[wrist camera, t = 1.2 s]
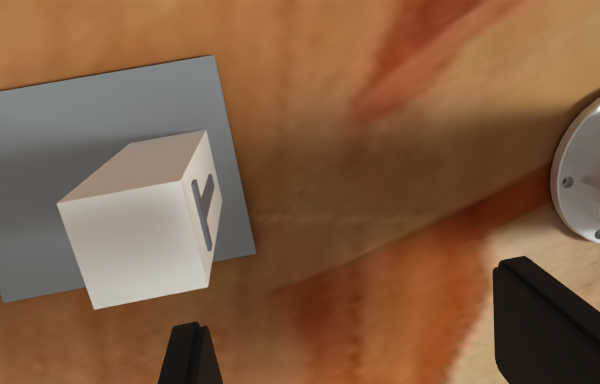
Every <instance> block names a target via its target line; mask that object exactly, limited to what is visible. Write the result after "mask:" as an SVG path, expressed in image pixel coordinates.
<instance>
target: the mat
mask: <svg viewBox="0 0 600 384" xmlns="http://www.w3.org/2000/svg"><path fill="white" fill-rule="evenodd" d="M200 130H206V131H207V135H208V140H209V144H210V148H211V153H212V157H213V161H214V166H215V170H216V174H217V179H218V183H219V187H220V192H221V196H222V206H221V212H220V218H219V224H218V230H217V236H216V242H215V248H214V254H213V260H212V262H217V261H222V260H227V259H233V258H238V257H243V256H248V255H253V254H256V248H255V243H254V238H253V234H252V229H251V224H250V220H249V215H248V210H247V206H246V201H245V196H244V191H243V187H242V182H241V177H240V173H239V168H238V163H237V159H236V154H235V149H234V145H233V140H232V135H231V131H230V126H229V121H228V116H227V112H226V107H225V102H224V98H223V93H222V88H221V84H220V79H219V74H218V70H217V65H216V60H215V55H210V56H204V57H199V58H193V59H187V60H181V61H175V62H169V63H164V64H158V65H152V66H146V67H140V68H134V69H129V70H123V71H117V72H111V73H105V74H99V75H94V76H88V77H82V78H76V79H70V80H64V81H58V82H53V83H47V84H41V85H35V86H29V87H23V88H18V89H12V90H6V91H0V295H1V297H2V299H3V302H4V303H8V302H13V301H18V300H23V299H28V298H33V297H38V296H44V295H49V294H54V293H59V292H64V291H69V290H74V289H79V288H84V287H86V285H85V282H84V280H83V277H82V274H81V271H80V268H79V266H78V263H77V260H76V257H75V254H74V251H73V249H72V246H71V243H70V240H69V237H68V235H67V232H66V229H65V226H64V223H63V221H62V218H61V215H60V212H59V209H58V207H57V204H56V203H58V202H59V201H60V200H61V199H62V198H64V197H65V196H66V195H67V194H69V193H70V192H71V191H72V190H73V189H75V188H76V187H77V186H78V185H80V184H81V183H82V182H83V181H84V180H86V179H87V178H88V177H89V176H90V175H92V174H93V173H94V172H95V171H97V170H98V169H99V168H100V167H101V166H103V165H104V164H105V163H106V162H108V161H109V160H110V159H111V158H112V157H114V156H115V155H116V154H117V153H119V152H120V151H121V150H122V149H123V148H125V147H126V146H127V145H128V144H130V143H133V142H139V141H145V140H150V139H156V138H161V137H167V136H172V135H178V134H183V133H189V132H195V131H200Z"/></svg>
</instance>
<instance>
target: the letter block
mask: <svg viewBox="0 0 600 384" xmlns="http://www.w3.org/2000/svg"><path fill="white" fill-rule="evenodd" d="M56 204H57V207H58V209H59V212H60V215H61V218H62V221H63V223H64V226H65V229H66V232H67V235H68V237H69V240H70V243H71V246H72V249H73V251H74V254H75V257H76V260H77V263H78V266H79V268H80V271H81V274H82V277H83V280H84V282H85V285H86V288H87V291H88V294H89V296H90V299H91V302H92V305H93V308H94V310H95V309H100V308H106V307H111V306H116V305H121V304H126V303H131V302H136V301H141V300H146V299H151V298H156V297H161V296H166V295H171V294H176V293H181V292H186V291H191V290H196V289H201V288H206V287H208V284H209V278H210V272H211V266H212V260H213V254H214V248H215V242H216V236H217V230H218V224H219V218H220V212H221V206H222V196H221V192H220V187H219V183H218V179H217V174H216V170H215V166H214V161H213V157H212V153H211V148H210V144H209V140H208V135H207V131H206V130H200V131H195V132H189V133H183V134H178V135H172V136H167V137H161V138H156V139H150V140H145V141H139V142H133V143H130V144H128V145H127V146H126V147H125V148H123V149H122V150H121V151H120V152H119V153H117V154H116V155H115V156H114V157H112V158H111V159H110V160H109V161H108V162H106V163H105V164H104V165H103V166H101V167H100V168H99V169H98V170H97V171H95V172H94V173H93V174H92V175H90V176H89V177H88V178H87V179H86V180H84V181H83V182H82V183H81V184H80V185H78V186H77V187H76V188H75V189H73V190H72V191H71V192H70V193H69V194H67V195H66V196H65V197H64V198H62V199H61V200H60V201H59V202H58V203H56Z"/></svg>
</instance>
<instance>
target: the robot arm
mask: <svg viewBox="0 0 600 384" xmlns="http://www.w3.org/2000/svg"><path fill="white" fill-rule="evenodd" d="M550 188H551V196H552V201H553V203H554V206H555V209H556V212H557V213H558V215H559V216H560V218H561V219H562V221H563V222H564V223H565V224H566V225H567V226H568V227H569V228H570V229H571V230H572V231H573V232H575V233H577V234H579V235H580V236H582V237H583V238H585V239H587V240H589V241H592V242H594V243H597V244H600V97H599V98H597V99H596V100H595V101H594V102H592V103H591V104H590V105H589V106H588V107H586V108H585V109H584V110H583V111H582V112H581V113H580V114H579V115H578V116H577V118H576V119H575V120H574V121H573V122H572V123H571V125H570V126H569V128H568V129H567V131H566V133H565V134H564V136H563V137H562V139H561V141H560V143H559V146H558V148H557V150H556V153H555V156H554V160H553V164H552V168H551V178H550ZM493 303H494V340H495V360H496V364H497V367H498V369H499V371H500V372H501V374H502V375H503V376H504V378H505V379H506V380H507V382H508V383H509V384H600V312H599V311H598V310H596V309H595V308H594V307H592V306H591V305H590V304H588V303H587V302H586V301H584V300H583V299H582V298H580V297H579V296H578V295H576V294H575V293H574V292H572V291H571V290H570V289H568V288H567V287H566V286H565V285H563V284H562V283H561V282H559V281H558V280H557V279H555V278H554V277H553V276H551V275H550V274H549V273H547V272H546V271H545V270H543V269H542V268H541V267H539V266H538V265H537V264H535V263H534V262H533V261H531V260H530V259H529V258H527V257H525V256H521V257H516V258H511V259H506V260H501V261H500V262H499V265H498V267H496V268H494V270H493ZM158 384H223V381H222V377H221V374H220V370H219V366H218V362H217V359H216V355H215V351H214V347H213V344H212V340H211V336H210V332H209V329H208V327H207V326H203V327H200V325H199V323H198V322H192V323H187V324H182V325H177V326H174V327H173V329H172V332H171V336H170V340H169V343H168V347H167V351H166V354H165V358H164V362H163V366H162V369H161V373H160V377H159V380H158Z"/></svg>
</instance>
